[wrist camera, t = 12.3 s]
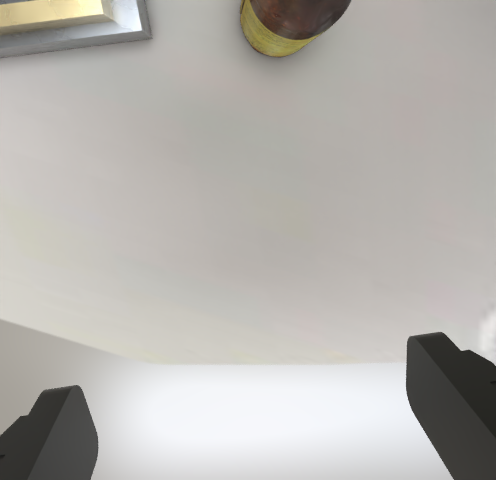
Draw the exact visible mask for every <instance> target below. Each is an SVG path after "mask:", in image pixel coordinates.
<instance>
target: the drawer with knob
mask: <svg viewBox="0 0 496 480" xmlns="http://www.w3.org/2000/svg"><path fill="white" fill-rule="evenodd" d="M151 38H152V34H151V29H150V24H149V18H148V13H147V8H146V2H145V0H0V58H4V57H12V56H19V55H27V54H35V53H43V52H50V51H58V50H66V49H74V48H81V47H89V46H97V45H105V44H113V43H120V42H128V41H136V40H144V39H151Z"/></svg>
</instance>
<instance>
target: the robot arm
mask: <svg viewBox="0 0 496 480" xmlns="http://www.w3.org/2000/svg"><path fill="white" fill-rule="evenodd" d="M406 391H407V396H408V400H409V403H410V406H411V409H412V411H413V413H414V414H415V416H416V418H417V420H418V421H419V423H420V425H421V426H422V428H423V430H424V431H425V433H426V434H427V436H428V438H429V439H430V441H431V443H432V444H433V446H434V448H435V449H436V451H437V452H438V454H439V456H440V458H441V459H442V461H443V462H444V464H445V466H446V467H447V469H448V471H449V472H450V474H451V476H452V477H453V479H454V480H496V366H495V365H494V364H493V363H492V362H490V361H489V360H487V359H485V358H483V357H482V356H480V355H478V354H476V353H474V352H473V351H471V350H465V351H460V349H459V348H458V347H457V346H456V345H455V344H454V343H453V342H452V341H451V340H450V339H449V338H448V337H447V336H446V335H445V334H444V333H442V332H436V333H429V334H423V335H416V336H410V337H409V338H408V341H407V370H406ZM97 456H98V436H97V432H96V429H95V426H94V423H93V420H92V417H91V414H90V411H89V408H88V405H87V402H86V399H85V397H84V394H83V391H82V389H81V388H80V386H78V385H74V386H68V387H61V388H54V389H48V390H44V391H43V392H42V393H41V394H40V396H39V397H38V399H37V401H36V402H35V404H34V406H33V408H32V409H31V411H30V413H29V415H27V416H20V417H19V418H18V419H17V420H16V421H15V422H14V423H13V424H12V425H11V426H10V427H9V428H8V429H7V430H6V431H5V432H4V433H3V434H2V435H1V436H0V480H90V479H91V476H92V473H93V470H94V467H95V464H96V460H97Z"/></svg>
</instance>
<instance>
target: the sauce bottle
mask: <svg viewBox="0 0 496 480" xmlns="http://www.w3.org/2000/svg"><path fill="white" fill-rule="evenodd" d="M350 2H351V0H242V1H241V6H240V14H241V18H240V21H241V26H242V29H243V32H244V34H245V37H246V38H247V39H248V41H249V43H250V44H251V45H252V47H253V48H254V49H255V50H257V51H258V52H261V53H262V54H265V55H269V56H273V57H282V56H287V55H290V54H293V53H295V52H296V51H298V50H300V49H301V48H302V47H304V46H305V45H307V44H308V43H309V42H311V41H312V40H313V39H315V38H316V37H318V36H319V35H320V34H322V33H323V32H325V31H326V30H327V29H329V28H330V27H331V26H332V25H333V24H334V23H335V22H336V21H338V19H339V18H340V17H341V16H342V15H343V14H344V12H345V10H346V9H347V7H348V6H349V4H350Z"/></svg>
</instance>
